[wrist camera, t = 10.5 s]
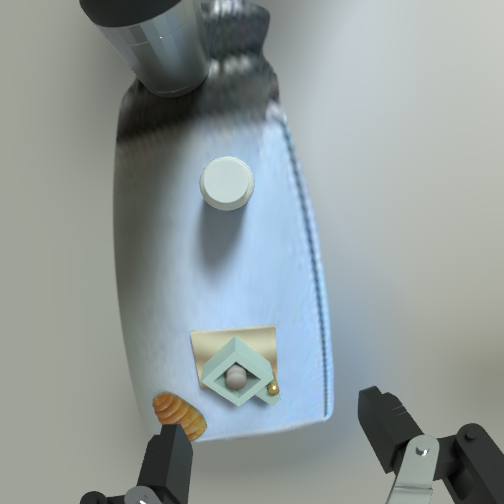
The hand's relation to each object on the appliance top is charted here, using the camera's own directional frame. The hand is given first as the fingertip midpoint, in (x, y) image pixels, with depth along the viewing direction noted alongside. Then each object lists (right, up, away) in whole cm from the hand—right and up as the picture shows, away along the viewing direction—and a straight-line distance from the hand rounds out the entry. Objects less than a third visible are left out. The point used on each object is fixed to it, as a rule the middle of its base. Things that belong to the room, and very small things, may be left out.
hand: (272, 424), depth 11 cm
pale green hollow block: (-1, -9, +26) cm, 27 cm away
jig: (-3, -7, +27) cm, 28 cm away
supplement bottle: (-4, +15, +23) cm, 28 cm away
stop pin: (+2, -10, +26) cm, 28 cm away
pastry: (-12, -19, +29) cm, 36 cm away
